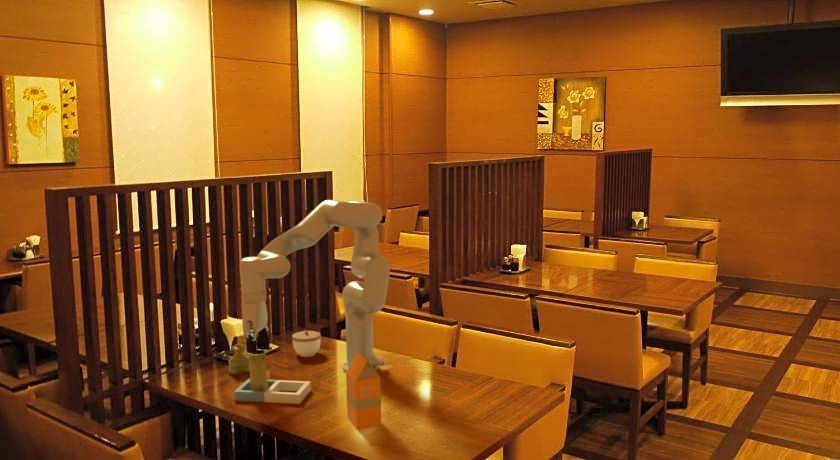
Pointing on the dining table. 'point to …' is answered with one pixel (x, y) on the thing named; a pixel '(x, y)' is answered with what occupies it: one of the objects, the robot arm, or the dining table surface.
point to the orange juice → (363, 394)
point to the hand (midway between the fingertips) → (257, 347)
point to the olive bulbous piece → (239, 361)
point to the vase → (258, 371)
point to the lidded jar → (306, 342)
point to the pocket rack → (275, 392)
